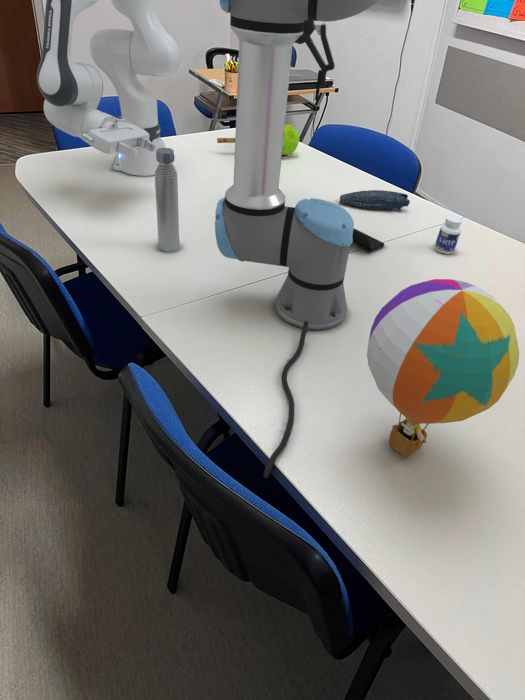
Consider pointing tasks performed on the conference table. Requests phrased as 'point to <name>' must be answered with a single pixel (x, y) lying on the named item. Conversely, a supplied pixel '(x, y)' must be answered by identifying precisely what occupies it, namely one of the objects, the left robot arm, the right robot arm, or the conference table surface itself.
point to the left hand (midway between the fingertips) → (146, 150)
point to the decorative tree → (288, 141)
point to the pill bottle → (448, 235)
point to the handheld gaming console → (366, 241)
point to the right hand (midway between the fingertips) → (290, 96)
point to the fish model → (376, 199)
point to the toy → (440, 356)
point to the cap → (165, 155)
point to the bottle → (167, 207)
